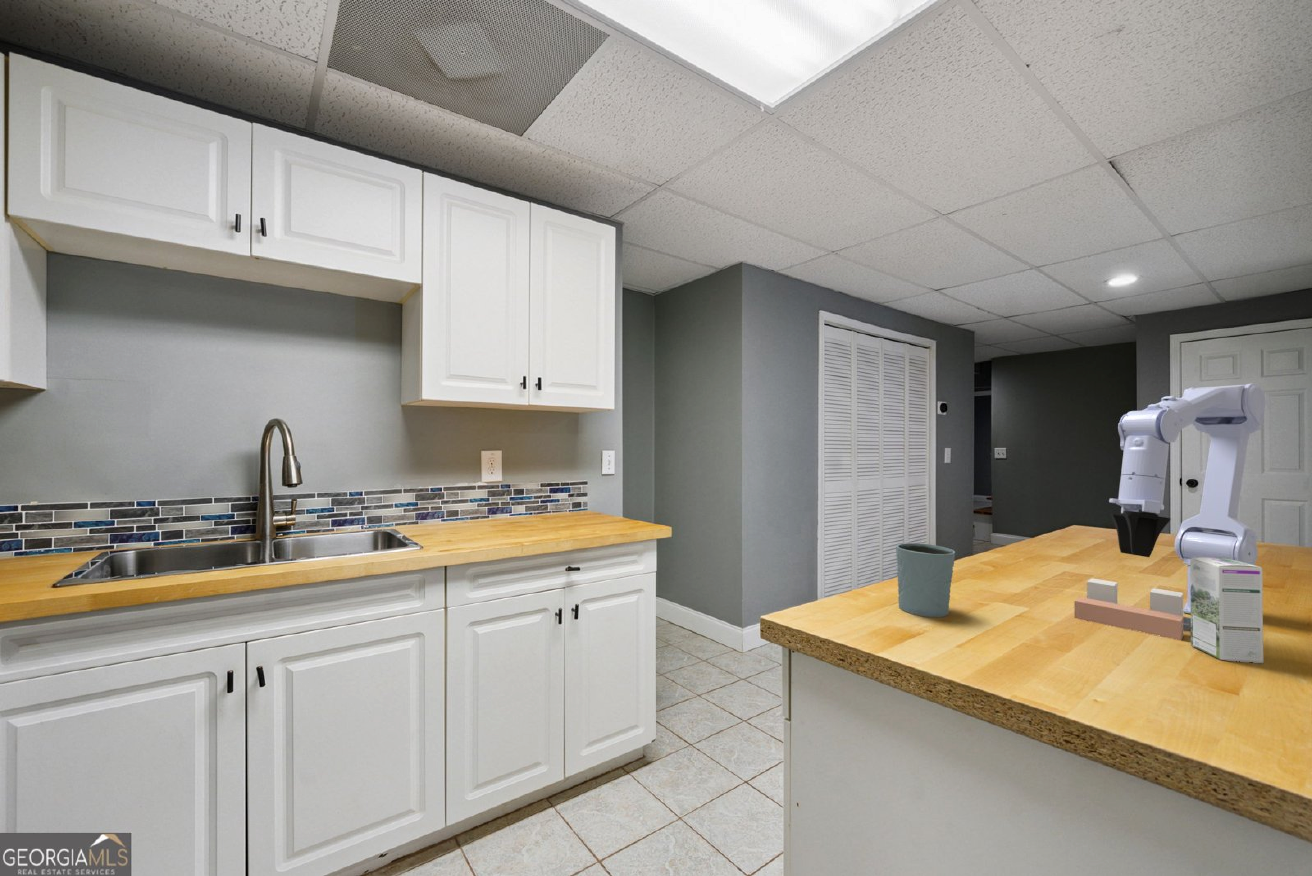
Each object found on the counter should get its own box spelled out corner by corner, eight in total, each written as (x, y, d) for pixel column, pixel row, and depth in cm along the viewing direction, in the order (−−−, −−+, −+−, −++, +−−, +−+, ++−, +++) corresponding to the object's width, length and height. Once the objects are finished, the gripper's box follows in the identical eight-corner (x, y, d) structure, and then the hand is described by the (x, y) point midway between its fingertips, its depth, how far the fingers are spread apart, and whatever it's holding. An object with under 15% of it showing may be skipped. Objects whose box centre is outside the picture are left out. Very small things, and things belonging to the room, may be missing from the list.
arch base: (1085, 603, 106) (1085, 576, 106) (1191, 623, 94) (1191, 593, 95) (1079, 609, 102) (1079, 581, 102) (1188, 631, 91) (1188, 599, 91)
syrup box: (1265, 664, 77) (1266, 566, 77) (1218, 660, 78) (1218, 564, 78) (1231, 649, 83) (1232, 558, 83) (1187, 645, 84) (1188, 555, 84)
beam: (1079, 615, 100) (1079, 596, 100) (1183, 636, 89) (1183, 616, 89) (1074, 619, 97) (1074, 600, 97) (1180, 642, 86) (1181, 621, 86)
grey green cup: (888, 600, 106) (889, 541, 106) (941, 603, 105) (942, 543, 105) (905, 617, 96) (906, 552, 96) (964, 620, 95) (964, 554, 95)
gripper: (1103, 477, 99) (1095, 548, 98) (1123, 470, 87) (1114, 551, 86) (1153, 483, 96) (1145, 556, 95) (1181, 476, 83) (1172, 561, 82)
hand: (1134, 555), depth 90 cm, fingers open, 7 cm apart
